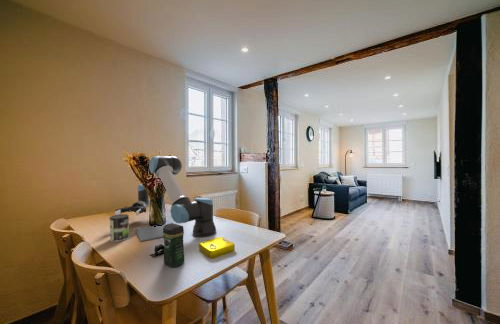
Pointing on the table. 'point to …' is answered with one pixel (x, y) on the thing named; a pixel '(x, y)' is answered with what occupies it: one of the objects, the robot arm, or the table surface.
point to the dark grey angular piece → (157, 252)
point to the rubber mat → (150, 233)
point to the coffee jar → (173, 245)
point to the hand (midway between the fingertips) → (126, 213)
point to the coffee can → (119, 227)
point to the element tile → (216, 247)
